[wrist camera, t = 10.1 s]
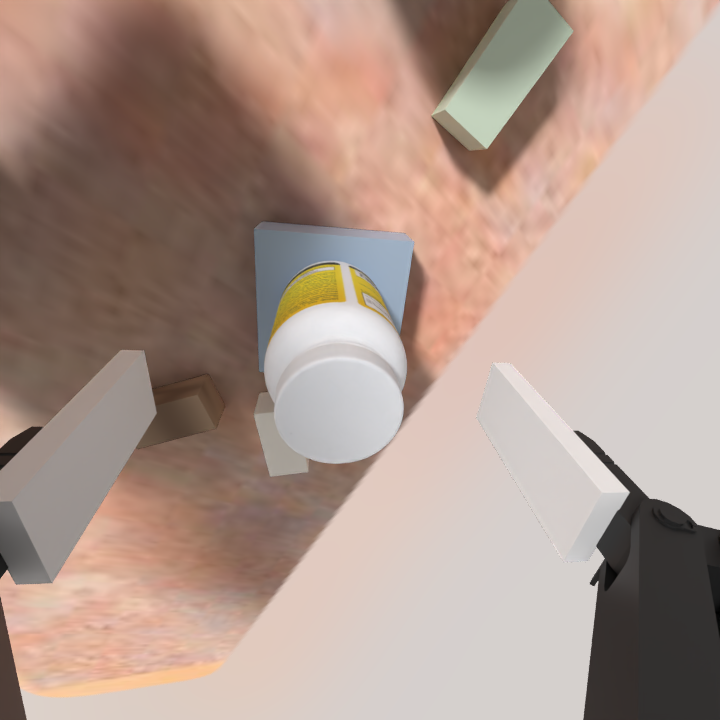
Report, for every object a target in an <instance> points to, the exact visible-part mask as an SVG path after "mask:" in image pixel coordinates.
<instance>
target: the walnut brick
mask: <svg viewBox="0 0 720 720" xmlns="http://www.w3.org/2000/svg"><path fill="white" fill-rule="evenodd" d="M152 392H153V397H154V402H155V407H156V412H157V414H156V415H155V417H154V419H153V420H152V422H151V424H150V425H149V427H148V428H147V430H146V432H145V433H144V435H143V436H142V438H141V440H140V441H139V443H138V445H137V446H136V449H140V448H144V447H148V446H151V445H155V444H159V443H163V442H167V441H171V440H174V439H178V438H182V437H186V436H190V435H194V434H198V433H201V432H205V431H209V430H213V429H216V428H217V425H218V423H219V420H220V418H221V416H222V413H223V411H224V408H225V404H224V402H223V401H222V399H221V397H220V395H219V393H218V391H217V389H216V387H215V385H214V383H213V381H212V379H211V378H210V376H209V374H207V375H203V376H199V377H196V378H192V379H188V380H184V381H181V382H177V383H173V384H169V385H166V386H162V387H158V388H155V389H152Z"/></svg>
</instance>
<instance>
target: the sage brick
mask: <svg viewBox="0 0 720 720" xmlns="http://www.w3.org/2000/svg"><path fill="white" fill-rule="evenodd" d="M572 33H573V30H572V29H571V27H570V26H569V25H568V24H567V23H566V21H565V20H564V19H563V18H562V16H561V15H560V14H559V13H558V12H557V10H556V9H555V8H554V7H553V6H552V4H551V3H550V2H549V1H548V0H509V1H508V2H507V3H505V5H504V6H503V8H502V9H501V11H500V12H499V14H498V15H497V17H496V19H495V20H494V22H493V23H492V25H491V26H490V28H489V29H488V31H487V32H486V34H485V35H484V37H483V38H482V40H481V41H480V43H479V44H478V46H477V47H476V49H475V50H474V52H473V53H472V55H471V56H470V58H469V59H468V61H467V62H466V64H465V65H464V67H463V68H462V70H461V71H460V73H459V74H458V76H457V77H456V79H455V81H454V82H453V84H452V85H451V87H450V88H449V90H448V91H447V93H446V94H445V96H444V97H443V99H442V100H441V102H440V103H439V105H438V106H437V108H436V109H435V111H434V112H433V114H432V115H431V116H432V117H433V118H434V119H435V120H436V121H437V122H438V123H439V124H441V125H442V126H443V127H444V128H445V129H446V130H447V131H448V132H449V133H450V134H451V135H452V136H454V137H455V138H456V139H457V140H458V141H459V142H460V143H461V144H462V145H463V146H464V147H466V148H467V149H468V150H469V151H471V150H482V149H487V148H488V147H489V145H490V144H491V143H492V141H493V140H494V139H495V137H496V136H497V135H498V133H499V132H500V131H501V129H502V128H503V126H504V125H505V124H506V122H507V121H508V120H509V118H510V117H511V116H512V114H513V113H514V112H515V110H516V109H517V107H518V106H519V105H520V103H521V102H522V101H523V99H524V98H525V97H526V95H527V94H528V93H529V91H530V90H531V88H532V87H533V86H534V84H535V83H536V82H537V80H538V79H539V78H540V76H541V75H542V74H543V72H544V71H545V69H546V68H547V67H548V65H549V64H550V63H551V61H552V60H553V59H554V57H555V56H556V55H557V53H558V52H559V50H560V49H561V48H562V46H563V45H564V44H565V42H566V41H567V40H568V38H569V37H570V35H571V34H572Z"/></svg>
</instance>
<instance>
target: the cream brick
mask: <svg viewBox="0 0 720 720" xmlns="http://www.w3.org/2000/svg"><path fill="white" fill-rule="evenodd" d="M274 404H275V403H274V402H273V400H272V398H271V396H270V394H269V392H263V393H259V397H258V400H257V404H256V407H255V411H254V418H255V422H256V426H257V430H258V433H259V437H260V441H261V445H262V448H263V452H264V456H265V460H266V464H267V467H268V471H269V475H270V477H273V476H281V475H289V474H298V473H306V472H308V470H309V458H306V457H304V456H302V455H300V454H299V453H297V452H295V451H294V450H293V449H292V448H291V447H289V446H288V445H287V444H286V443H285V441H284V440H283V439H282V437H281V435H280V434H279V432H278V430H277V427H276V424H275V418H274Z"/></svg>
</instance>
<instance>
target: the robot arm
mask: <svg viewBox="0 0 720 720" xmlns="http://www.w3.org/2000/svg"><path fill="white" fill-rule="evenodd" d="M156 414H157V412H156V407H155V402H154V397H153V392H152V387H151V382H150V377H149V372H148V367H147V362H146V357H145V352H144V350H120V351H119V352H118V353H117V354H116V355H115V356H114V357H113V358H112V359H111V360H110V361H109V362H108V363H107V364H106V365H105V366H104V367H103V368H102V369H101V370H100V371H99V372H98V373H97V374H96V375H95V376H94V377H93V378H92V379H91V380H90V381H89V382H88V383H87V384H86V385H85V386H84V387H83V388H82V389H81V390H80V391H79V392H78V393H77V394H76V395H75V396H74V397H73V398H72V399H71V400H70V401H69V402H68V403H67V404H66V405H65V406H64V407H63V408H62V409H61V410H60V411H59V412H58V413H57V414H56V415H55V416H54V417H53V418H52V419H51V420H50V421H49V422H48V423H47V424H46V425H45V426H44V427H31V428H29V429H27V430H25V431H24V432H22V433H20V434H18V435H17V436H15V437H13V438H11V439H10V440H9V441H8V442H7V443H6V444H5V445H4V446H3V447H1V448H0V578H1V577H2V576H3V574H4V573H5V572H6V570H8V571H9V573H10V575H11V577H12V578H13V580H14V582H15V584H16V585H17V584H41V583H53V581H54V579H55V578H56V576H57V574H58V573H59V571H60V570H61V568H62V566H63V565H64V563H65V561H66V560H67V558H68V557H69V555H70V553H71V552H72V550H73V548H74V547H75V545H76V544H77V542H78V540H79V539H80V537H81V535H82V534H83V532H84V531H85V529H86V527H87V526H88V524H89V522H90V521H91V519H92V518H93V516H94V514H95V513H96V511H97V509H98V508H99V506H100V505H101V503H102V501H103V500H104V498H105V497H106V495H107V493H108V492H109V490H110V488H111V487H112V485H113V484H114V482H115V480H116V479H117V477H118V475H119V474H120V472H121V471H122V469H123V467H124V466H125V464H126V462H127V461H128V459H129V458H130V456H131V454H132V453H133V451H134V449H135V448H136V446H137V445H138V443H139V441H140V440H141V438H142V436H143V435H144V433H145V432H146V430H147V428H148V427H149V425H150V424H151V422H152V420H153V419H154V417H155V415H156ZM476 418H477V420H478V421H479V423H480V425H481V426H482V428H483V430H484V431H485V433H486V435H487V436H488V438H489V440H490V441H491V443H492V445H493V446H494V448H495V450H496V451H497V453H498V455H499V456H500V458H501V460H502V461H503V463H504V465H505V466H506V468H507V470H508V471H509V473H510V475H511V476H512V478H513V480H514V481H515V483H516V484H517V486H518V488H519V489H520V491H521V493H522V494H523V496H524V498H525V499H526V501H527V503H528V504H529V506H530V508H531V509H532V511H533V512H534V514H535V516H536V518H537V519H538V521H539V523H540V524H541V526H542V528H543V529H544V531H545V533H546V534H547V536H548V538H549V539H550V541H551V543H552V544H553V546H554V547H555V549H556V551H557V552H558V554H559V556H560V557H561V559H562V561H563V562H579V561H588V560H589V559H590V557H591V555H592V554H593V552H594V550H595V549H596V547H597V548H598V549H599V551H600V552H601V553H602V555H603V556H604V558H605V559H604V561H603V563H602V564H601V566H600V567H599V569H598V570H597V572H596V573H595V575H594V577H593V578H592V580H591V582H590V584H591V585H592V586H595V584H596V582H597V581H599V583H598V592H597V602H596V610H595V620H594V629H593V637H592V647H591V656H590V665H589V674H588V683H587V693H586V701H585V711H584V719H583V720H720V530H717V529H713V528H708V527H704V526H700V525H697V524H696V523H695V522H694V521H693V520H692V518H691V517H690V516H688V515H687V514H686V513H684V512H683V511H681V510H680V509H679V508H677V507H675V506H673V505H671V504H669V503H667V502H663V501H660V500H657V499H649V498H648V497H647V496H646V495H645V494H644V493H643V492H642V490H641V489H640V488H639V487H638V486H637V485H636V484H635V483H634V482H633V481H632V480H631V479H630V478H629V477H628V476H627V475H626V474H625V473H624V472H623V471H622V470H621V469H620V468H619V467H618V466H617V465H615V464H614V461H612V459H611V458H610V457H609V456H608V455H605V452H604V451H603V450H602V449H601V448H600V447H599V446H598V445H597V444H596V443H595V442H594V441H593V440H591V439H590V438H589V437H587V436H586V435H584V434H583V433H581V432H579V431H573V430H572V429H571V428H570V427H569V426H568V425H567V424H566V423H565V422H564V421H563V419H562V418H561V417H560V416H559V415H558V414H557V413H556V412H555V411H554V410H553V409H552V408H551V407H550V406H549V404H548V403H547V402H546V401H545V400H544V399H543V398H542V397H541V396H540V395H539V393H538V392H537V391H536V390H535V389H534V388H533V387H532V386H531V385H530V384H529V383H528V382H527V380H525V378H524V377H523V376H522V375H521V374H520V373H519V372H518V371H517V370H516V369H515V367H514V366H513V365H512V364H511V363H492V367H491V370H490V373H489V377H488V380H487V383H486V387H485V390H484V393H483V397H482V400H481V404H480V407H479V411H478V414H477V417H476ZM0 720H27V719H26V715H25V710H24V706H23V701H22V696H21V692H20V687H19V682H18V677H17V673H16V668H15V663H14V658H13V654H12V649H11V644H10V640H9V635H8V630H7V626H6V621H5V616H4V612H3V607H2V602H1V598H0Z"/></svg>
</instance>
